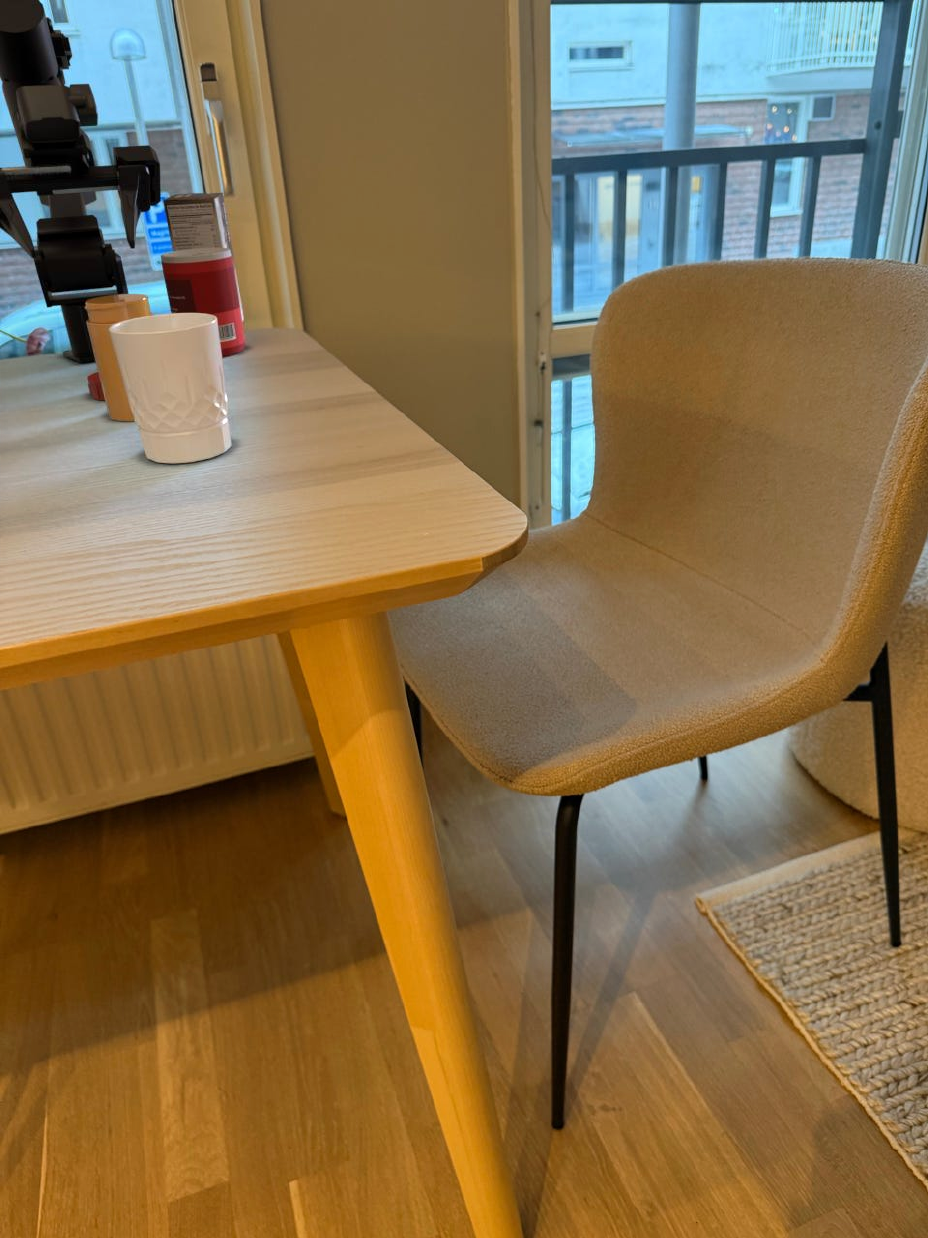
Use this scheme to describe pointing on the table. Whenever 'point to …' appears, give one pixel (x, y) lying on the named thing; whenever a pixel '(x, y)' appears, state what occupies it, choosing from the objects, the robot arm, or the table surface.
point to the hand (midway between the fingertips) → (84, 250)
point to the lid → (95, 386)
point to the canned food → (206, 290)
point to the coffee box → (199, 223)
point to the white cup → (175, 384)
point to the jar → (100, 319)
